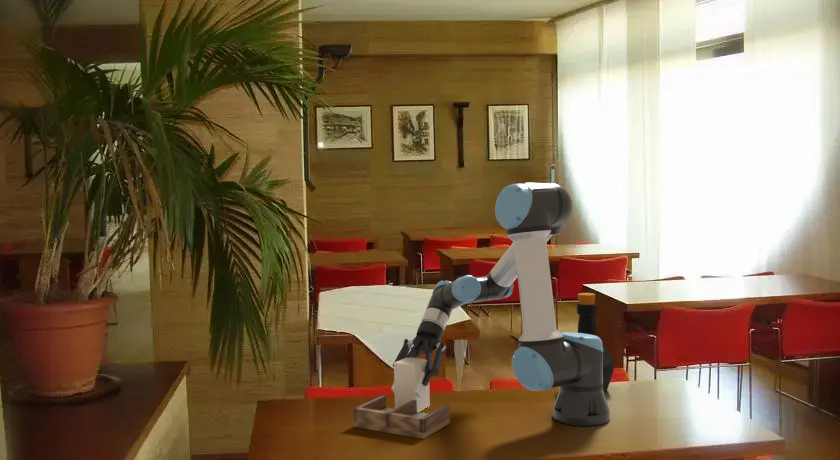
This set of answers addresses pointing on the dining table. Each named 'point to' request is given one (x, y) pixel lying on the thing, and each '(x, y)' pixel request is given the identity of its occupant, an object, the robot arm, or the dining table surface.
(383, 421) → the rack
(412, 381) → the white block
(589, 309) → the bottle
